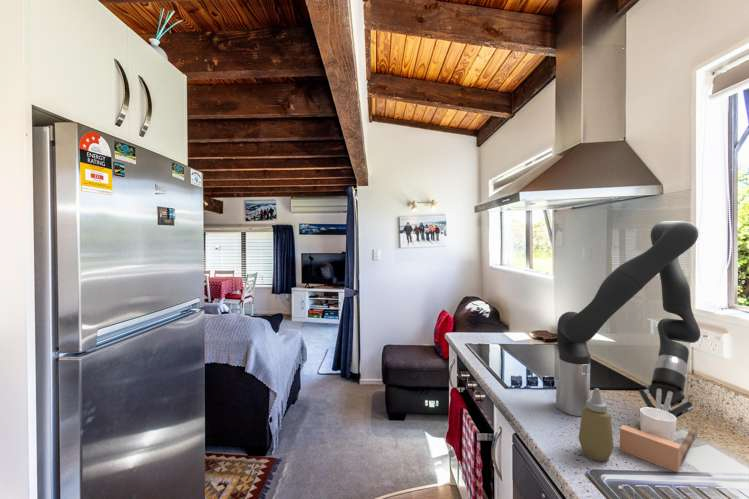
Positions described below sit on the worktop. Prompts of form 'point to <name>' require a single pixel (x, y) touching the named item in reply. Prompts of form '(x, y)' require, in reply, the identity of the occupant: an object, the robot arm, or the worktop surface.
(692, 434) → the rails
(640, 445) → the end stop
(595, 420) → the squeeze bottle
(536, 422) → the worktop surface
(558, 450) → the worktop surface
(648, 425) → the white cup
